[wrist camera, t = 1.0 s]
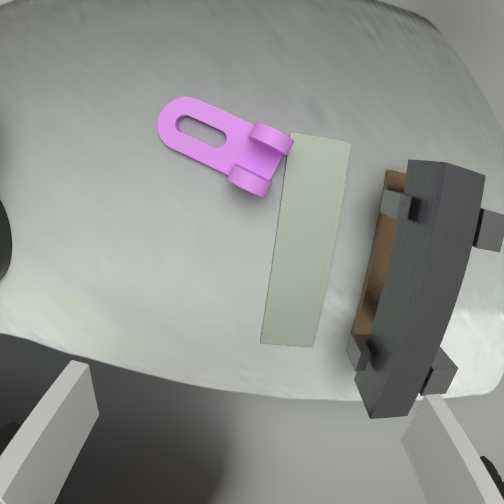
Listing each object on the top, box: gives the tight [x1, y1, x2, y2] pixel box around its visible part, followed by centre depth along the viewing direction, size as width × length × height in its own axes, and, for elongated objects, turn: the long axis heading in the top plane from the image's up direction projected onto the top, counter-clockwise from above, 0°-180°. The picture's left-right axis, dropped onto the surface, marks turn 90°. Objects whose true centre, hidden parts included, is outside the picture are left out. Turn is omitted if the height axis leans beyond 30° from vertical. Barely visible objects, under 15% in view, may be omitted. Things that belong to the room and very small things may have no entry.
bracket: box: [157, 97, 294, 198], centre depth 28 cm, size 13×6×7 cm, turn 63°
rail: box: [354, 160, 485, 419], centre depth 24 cm, size 4×22×6 cm, turn 173°
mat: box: [260, 132, 351, 347], centre depth 35 cm, size 6×24×1 cm, turn 173°
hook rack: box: [346, 169, 504, 396], centre depth 28 cm, size 10×20×14 cm, turn 173°
